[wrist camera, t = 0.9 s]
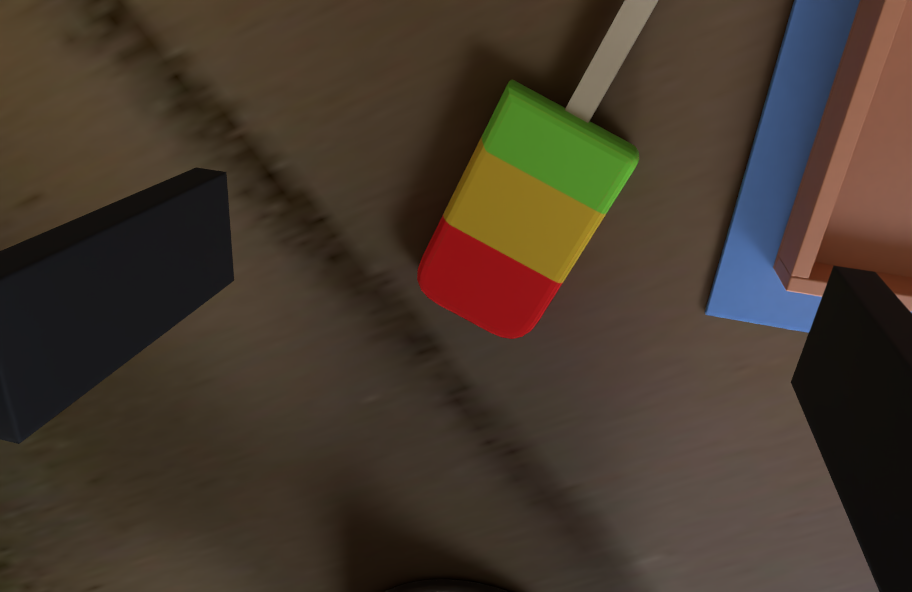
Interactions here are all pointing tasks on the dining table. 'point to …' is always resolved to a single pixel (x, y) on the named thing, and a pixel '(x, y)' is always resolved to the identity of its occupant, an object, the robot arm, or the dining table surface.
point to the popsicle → (531, 196)
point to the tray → (859, 164)
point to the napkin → (780, 170)
